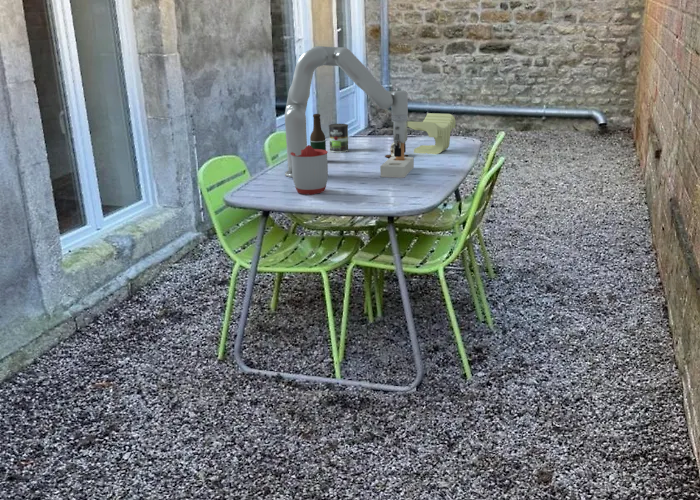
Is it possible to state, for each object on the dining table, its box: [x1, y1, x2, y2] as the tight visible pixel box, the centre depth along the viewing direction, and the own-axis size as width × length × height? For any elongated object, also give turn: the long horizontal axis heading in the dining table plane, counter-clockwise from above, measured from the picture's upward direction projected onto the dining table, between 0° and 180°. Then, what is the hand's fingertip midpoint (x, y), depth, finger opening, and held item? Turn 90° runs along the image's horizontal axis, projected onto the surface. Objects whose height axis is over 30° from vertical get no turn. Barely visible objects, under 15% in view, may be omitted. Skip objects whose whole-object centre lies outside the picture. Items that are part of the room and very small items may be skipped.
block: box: [379, 156, 415, 179], centre depth 337 cm, size 22×11×5 cm, turn 164°
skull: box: [384, 141, 409, 158], centre depth 373 cm, size 12×10×10 cm
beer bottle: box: [309, 113, 327, 151], centre depth 363 cm, size 8×8×24 cm
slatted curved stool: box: [407, 112, 456, 155], centre depth 380 cm, size 30×16×18 cm, turn 154°
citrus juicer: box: [291, 144, 329, 196], centre depth 305 cm, size 16×17×20 cm
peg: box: [396, 142, 405, 161], centre depth 341 cm, size 4×4×14 cm
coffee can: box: [328, 123, 349, 154], centre depth 390 cm, size 10×10×14 cm
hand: (399, 154), depth 340 cm, fingers open, 9 cm apart
